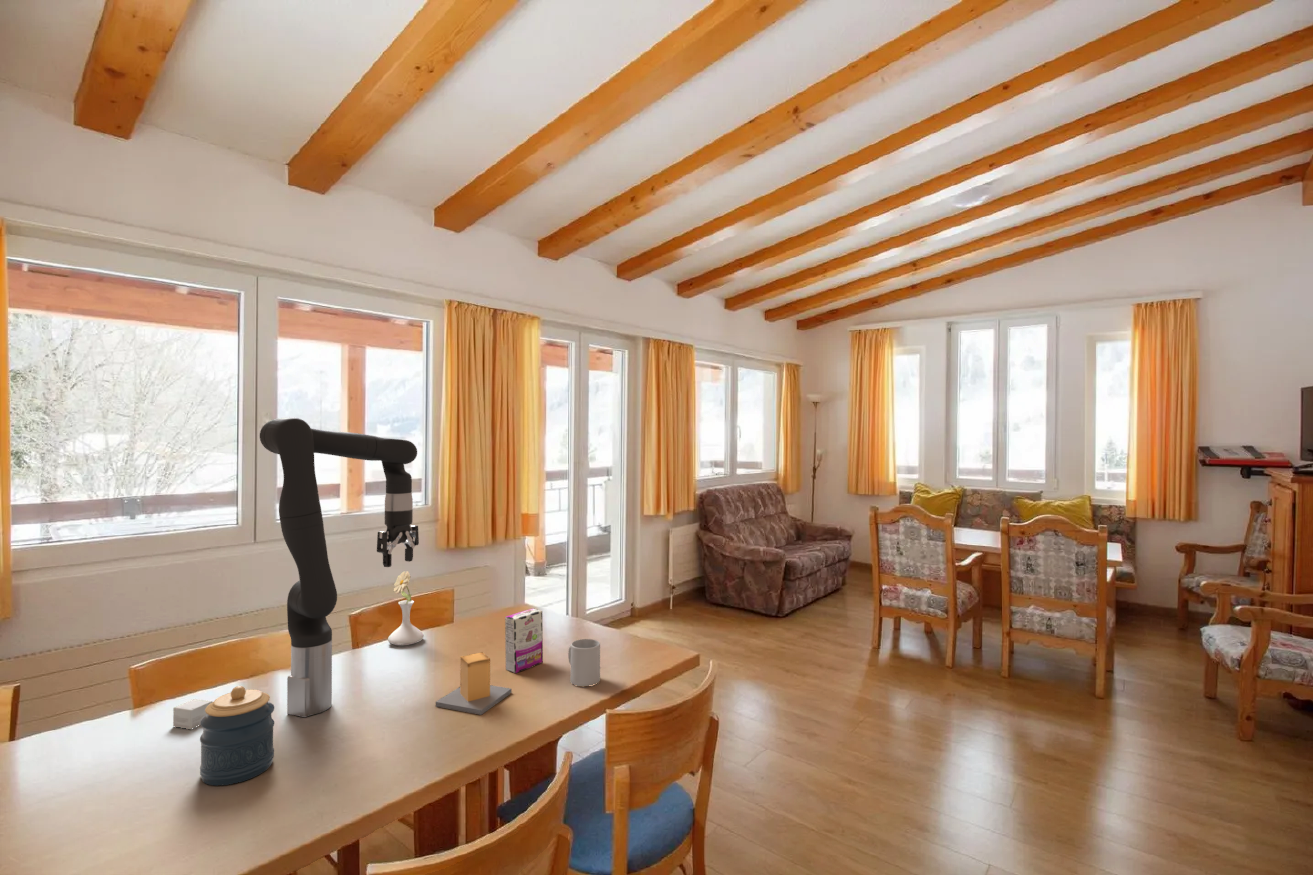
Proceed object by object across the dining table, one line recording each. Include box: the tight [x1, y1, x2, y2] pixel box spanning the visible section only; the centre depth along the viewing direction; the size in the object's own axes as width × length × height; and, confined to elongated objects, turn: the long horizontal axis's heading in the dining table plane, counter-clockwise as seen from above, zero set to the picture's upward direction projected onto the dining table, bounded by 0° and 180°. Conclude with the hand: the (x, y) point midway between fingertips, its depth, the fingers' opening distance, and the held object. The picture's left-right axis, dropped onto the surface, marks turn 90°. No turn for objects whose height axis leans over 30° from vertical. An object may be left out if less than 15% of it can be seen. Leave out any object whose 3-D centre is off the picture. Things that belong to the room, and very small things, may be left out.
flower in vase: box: [387, 570, 425, 646], centre depth 208 cm, size 13×11×25 cm
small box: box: [172, 698, 213, 730], centre depth 150 cm, size 6×6×5 cm
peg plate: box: [435, 684, 513, 716], centre depth 165 cm, size 14×14×6 cm
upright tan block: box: [459, 651, 491, 701], centre depth 165 cm, size 6×6×10 cm
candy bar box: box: [504, 608, 544, 674], centre depth 188 cm, size 11×5×16 cm, turn 143°
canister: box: [199, 685, 275, 787], centre depth 130 cm, size 13×13×18 cm
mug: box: [567, 638, 601, 687], centre depth 179 cm, size 12×8×11 cm
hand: (398, 563), depth 179 cm, fingers open, 8 cm apart
